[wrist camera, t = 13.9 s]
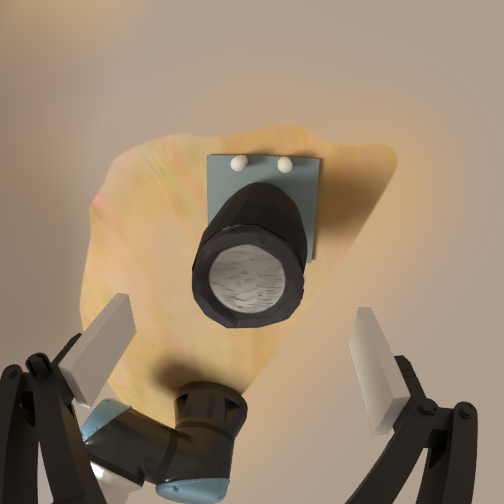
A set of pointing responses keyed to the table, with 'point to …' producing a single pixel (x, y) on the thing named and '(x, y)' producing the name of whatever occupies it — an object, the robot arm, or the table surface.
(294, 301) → the portable speaker
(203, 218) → the table surface
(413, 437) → the robot arm
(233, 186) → the pin pad
